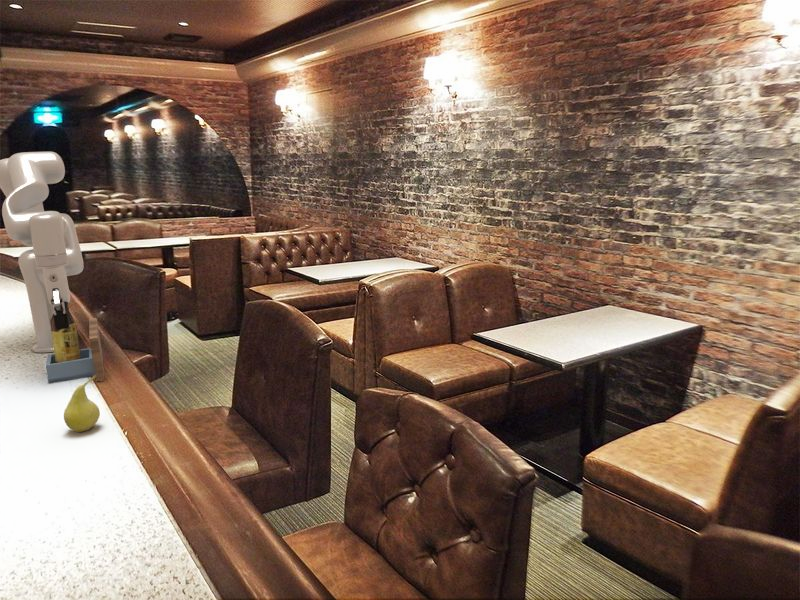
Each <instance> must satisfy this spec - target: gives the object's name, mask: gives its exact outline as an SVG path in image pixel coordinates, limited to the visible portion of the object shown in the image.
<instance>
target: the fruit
mask: <svg viewBox="0 0 800 600" xmlns="http://www.w3.org/2000/svg"><path fill="white" fill-rule="evenodd" d="M94 380H96V375H94V376H91V378H90V379H88V380H87V381H86V382H85V383H83V384H81V385H79V386H78V387H77V388H76V389H75V390H74V391H73V393H72V394H71V395H72V396H71V398H70V400H69V401H68V403H67V406H66V407H65V409H64V412H63V420H64V423H65V424H66V426H67V428H69V429H70V430H71V431H74V432H77V433H83V432H85V431H88V430H89V429H92V427H93V426H95V425H96V423H97V422H98V420H99V418H100V416H101V413H100V408H99V406H98V405H97V404H96V403H95V402H94V401H92V400H91V399H89V398H88V395H87V392H86V386H87V385H88V384H89V383H90V382H92V381H94Z"/></svg>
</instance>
